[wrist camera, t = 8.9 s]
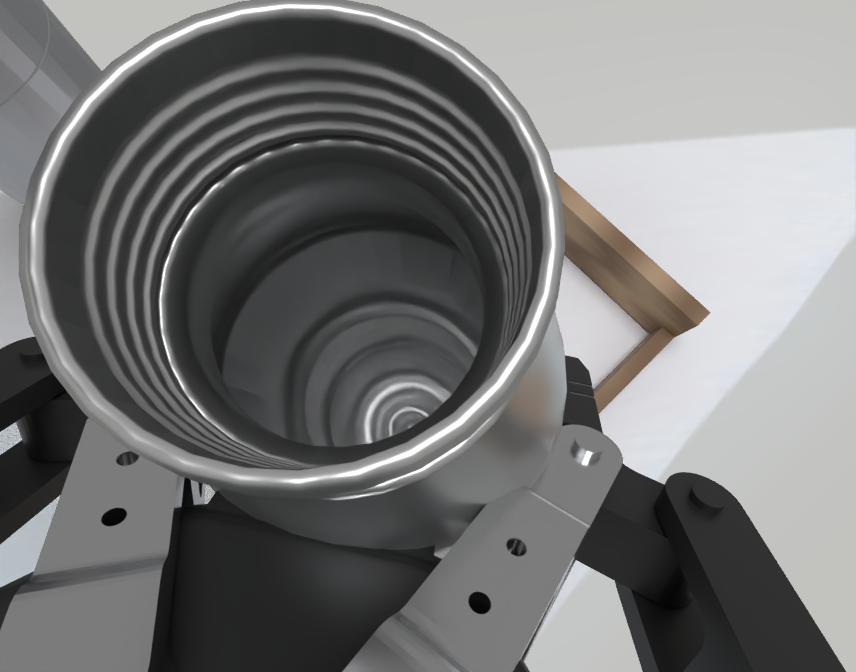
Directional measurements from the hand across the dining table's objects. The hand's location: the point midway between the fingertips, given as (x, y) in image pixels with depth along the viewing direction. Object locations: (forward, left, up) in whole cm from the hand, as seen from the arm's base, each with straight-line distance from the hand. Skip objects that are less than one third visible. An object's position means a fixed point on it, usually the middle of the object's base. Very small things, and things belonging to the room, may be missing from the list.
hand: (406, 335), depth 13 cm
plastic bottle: (+1, -1, -10) cm, 11 cm away
